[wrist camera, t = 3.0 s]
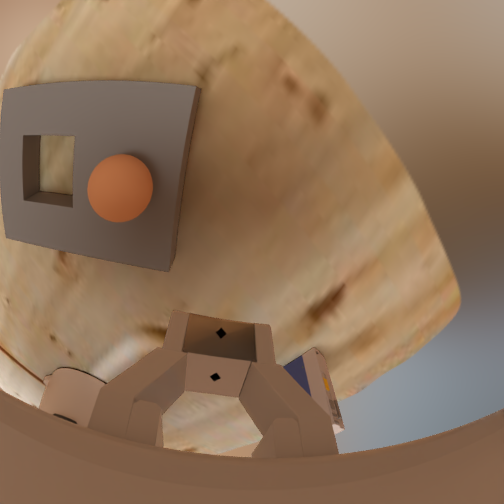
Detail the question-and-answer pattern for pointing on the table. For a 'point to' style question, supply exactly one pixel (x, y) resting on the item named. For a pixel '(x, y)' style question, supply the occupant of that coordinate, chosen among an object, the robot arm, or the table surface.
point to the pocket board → (89, 156)
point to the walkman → (317, 383)
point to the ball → (120, 188)
